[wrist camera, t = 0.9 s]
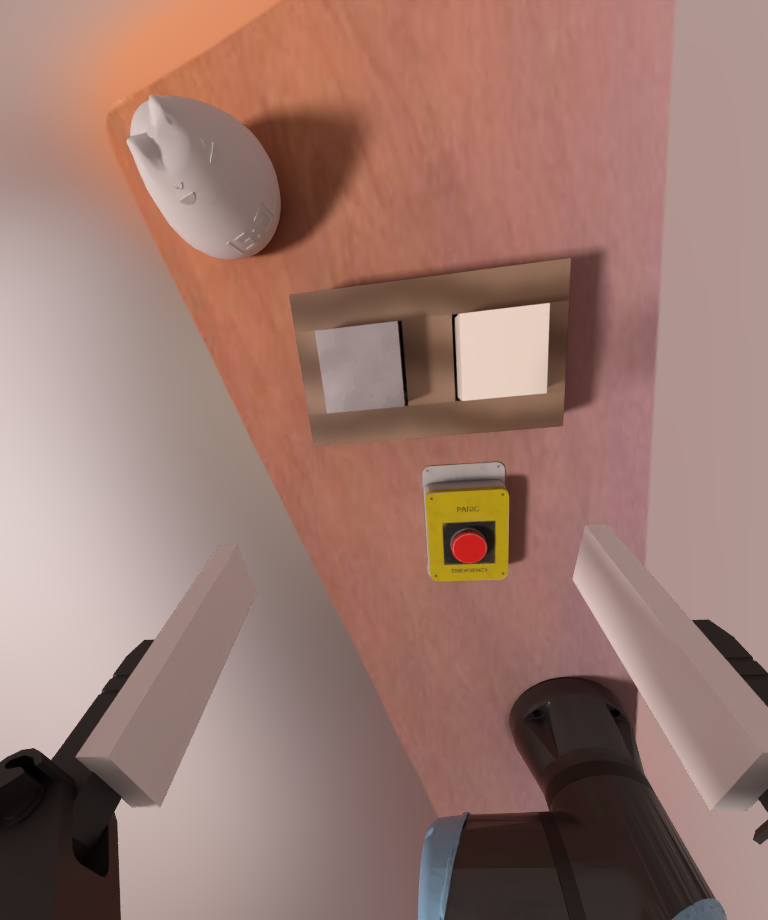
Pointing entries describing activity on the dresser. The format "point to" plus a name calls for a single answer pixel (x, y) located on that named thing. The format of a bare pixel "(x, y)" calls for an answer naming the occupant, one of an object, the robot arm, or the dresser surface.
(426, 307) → the brown wooden flat block
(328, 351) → the steel key
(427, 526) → the emergency button
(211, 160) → the toy character
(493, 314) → the cream key
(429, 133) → the dresser surface
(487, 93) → the dresser surface
